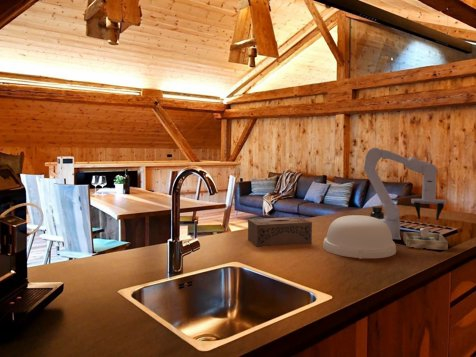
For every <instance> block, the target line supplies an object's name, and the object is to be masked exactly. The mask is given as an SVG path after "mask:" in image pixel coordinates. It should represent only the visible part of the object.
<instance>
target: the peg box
mask: <svg viewBox="0 0 476 357" xmlns="http://www.w3.org/2000/svg"><path fill="white" fill-rule="evenodd" d="M402 233H403V234H402V235H403V236H402V239H403V242H404V244H406V245H405V247H406V246H407V247H406V248H408V247H414V248H413V249H423V248H426V250H427V249H428V250H439V251H440V250H441V251H448V250H449V248H448V247H449V246H448V244H449V242H448V240H447V239H446V238H445V237H444V236H443V234H441V233H430V232H429V240H420V232H411V231H403V232H402Z"/></svg>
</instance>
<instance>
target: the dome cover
mask: <svg viewBox="0 0 476 357" xmlns="http://www.w3.org/2000/svg"><path fill="white" fill-rule="evenodd" d="M322 248H323V250H325V251H327V252H328V253H331V254H334V255H337V256H342V257H348V258H355V259H356V258H357V259H358V260H359V259H360V260H361V259H382V258H389V257H392V256H395V255H396V253H397V245H396V243H395V241H393V239H392V234H391V231H390V229H389V227H388V225H387V224H386V223H385V222H383V221H382V220H380V219H377V218H374V217H370V216H369V215H359V214H355V215H354V214H353V215H352V214H351V215H344V216H340V217H338V218H335V219H334V220H333V221H332V222H331V223H330V225H329V226H328V230H327V233H326V237H324V239H323V242H322Z"/></svg>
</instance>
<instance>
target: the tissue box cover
mask: <svg viewBox="0 0 476 357" xmlns="http://www.w3.org/2000/svg"><path fill="white" fill-rule="evenodd" d="M312 238H313V222H312V221H310V220H308V219H305V218H303V217H300V216H289V217H287V216H285V217H284V216H283V217H265V218H248V219H247V240H248V241H249V242H250V243H251V242H252V243H251V244H252V245H254V246H255V247H256V248H262V247H263V246H266V247H278V246H280V247H282V246H294V245H308V244H309V245H311V244H312V240H313V239H312ZM263 248H264V247H263Z"/></svg>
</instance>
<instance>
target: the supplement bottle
mask: <svg viewBox="0 0 476 357" xmlns="http://www.w3.org/2000/svg"><path fill="white" fill-rule="evenodd" d="M371 210H372V211H371V212H370V213H369V215H370V217H374V218H377V219H384V217H385V212H383V206H377V205H376V206H372V209H371Z"/></svg>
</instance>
